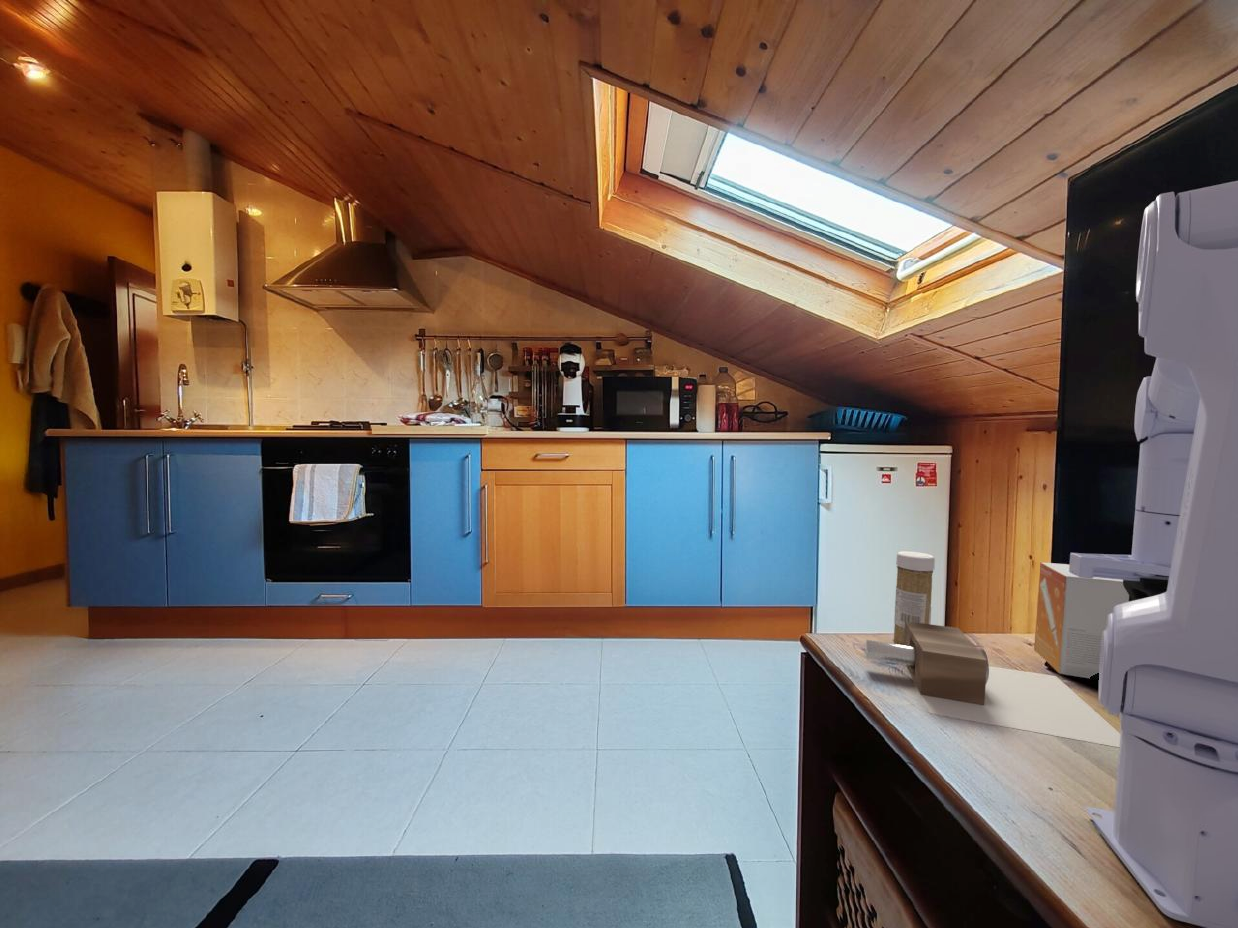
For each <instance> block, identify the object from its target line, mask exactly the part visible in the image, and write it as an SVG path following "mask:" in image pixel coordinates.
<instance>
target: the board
mask: <svg viewBox="0 0 1238 928" xmlns="http://www.w3.org/2000/svg"><path fill="white" fill-rule="evenodd" d="M904 665H905V666H906V664H904ZM905 668H907V666H906V667H905ZM907 671H908V673H909V674H910V672H909V670H908V668H907ZM910 676H911V674H910ZM911 679H912V681H913V683H914V684H915V682H914V680H913V678H912V676H911ZM915 687H916V689H917V691H918V693H919V695H920V696H921V698H922V701H923V703H924V705H925V706H926V709H927V711H928V713H929V714H931V715H932V714H933V715H937V716H942V717H943V716H944V717H949V718H954V719H960V720H966V721H971V722H976V723H981V724H987V725H993V726H996V727H997V726H998V727H1002V728H1003V727H1004V728H1009V729H1015V730H1020V731H1025V732H1031V733H1036V734H1042V735H1048V736H1053V737H1059V738H1064V739H1069V740H1074V741H1075V740H1076V741H1081V742H1086V743H1090V744H1091V743H1092V744H1097V745H1104V746H1108V747H1113V748H1118V749H1119V744H1120V732H1119V731H1118V730H1117V729H1116V728H1115V727H1113V726H1112V725H1111V724H1110V723H1109V722H1108V721H1107V720H1105V719H1104V718H1103V717H1102V716H1101V715H1100V714H1099V713H1098V712H1097V711H1096V710H1095V709H1093V708H1092V707H1091V706H1090V705H1089V704H1088V703H1087V702H1085V700H1083V699H1082V698H1081V697H1079V695H1077V694H1076V692H1074V691H1073V690H1072V688H1070V687H1069V686H1067V685H1066V684H1065V682H1063V681H1062V680H1061V679H1060V678H1059V677H1057V676H1056V675H1052V674H1051V675H1050V674H1044V673H1037V672H1033V671H1032V672H1031V671H1023V670H1018V669H1011V668H1004V667H997V666H990V665H989V677H988V681H987V683H986V686H985V701H984V706H983V705H978V704H972V703H966V702H960V701H954V700H949V699H943V698H937V697H931V696H925V695H921V694H920V692H919V690H918V688H917V686H916V684H915Z"/></svg>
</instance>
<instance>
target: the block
mask: <svg viewBox="0 0 1238 928" xmlns="http://www.w3.org/2000/svg"><path fill="white" fill-rule="evenodd" d="M904 645H906V646H913V647H916V662H915V666H912V665H905V666H907V667H906V668H908V669H907V671H908V670H909V671H908V673H909V672H910V673H909V674H911V675H910V676H912V677H911V679H912V678H913V679H912V681H913V680H914V681H913V683H914V682H915V683H914V684H916V685H915V687H916V686H917V687H916V689H917V688H918V689H917V691H918V690H919V691H918V693H919V692H920V693H919V695H920V694H921V695H925V696H931V697H937V698H943V699H949V700H954V701H960V702H966V703H972V704H978V705H983V706H984V701H985V686H986V671H987V659H986V658H985V657H984V656H983V655H982V654H981V653H980V652H979V650H978V649H977V648H978V647H976V646H975V645H974V643H973V642H972V641H971V640H970V639H969V638H968V637H967V636H966V634H965V633H964V632H963V631H962V630H961V628H959V627H952V626H945V625H937V624H931V623H930V624H923V623H916V622H908V621H905V630H904ZM921 695H920V696H921Z"/></svg>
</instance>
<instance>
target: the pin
mask: <svg viewBox="0 0 1238 928" xmlns="http://www.w3.org/2000/svg"><path fill="white" fill-rule="evenodd" d="M976 648H977V649H978V650H979V652H980V653H981V654H982V655H983V656H984V657H985V658H986V659H987V671H986V683H987V681H988V677H989V666H990V665H989V659H988V655H987V653H986V651H985V649H984V648H981V647H976ZM864 649H865V650H864V653H865V654H864V655H865V658H866V659H869V660H874V661H880V662H887V663H894V664H900V665H905V664H906V665H912V666H915V662H916V647H913V646H906V645H899V644H895V643H893V642H885V641H879V640H878V641H877V640H869V639H866V640H865V646H864ZM906 665H905V666H906Z"/></svg>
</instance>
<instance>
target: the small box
mask: <svg viewBox="0 0 1238 928" xmlns="http://www.w3.org/2000/svg"><path fill="white" fill-rule="evenodd" d="M1069 565H1070V564H1069V563H1068V564H1067V563H1053V562H1043V561H1042V562H1040V563H1039V579H1038V581H1039V582H1038V592H1037V594H1038V595H1037V604H1036V605H1037V606H1036V619H1035V620H1036V621H1035V631H1034V633H1035V634H1034V647H1033V650H1034V652H1036V653H1037V654H1038V655H1040V657H1042V659H1044V660H1045V661H1046V662H1047V664H1049V665H1050V666H1051V668H1053V669H1054V670H1055V671H1056V672H1057V673H1058V674H1061V675H1065V676H1073V677H1077V678H1078V677H1079V678H1086V679H1090V677H1091V676H1093V675H1095V674H1097V673H1099V667H1100V653H1101V642H1102V635H1103V631H1104V630H1106V626H1107V619H1108V614H1110V613H1113V609H1114V606H1116V605H1119V604H1123V603H1127V602H1130V596H1129V594H1128V592H1127V591H1126V589H1125V588H1124V586H1123V580H1120V579H1109V578H1099V577H1093V578H1082V577H1078V576H1077V575H1074V574H1072V573H1070V572H1069Z"/></svg>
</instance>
